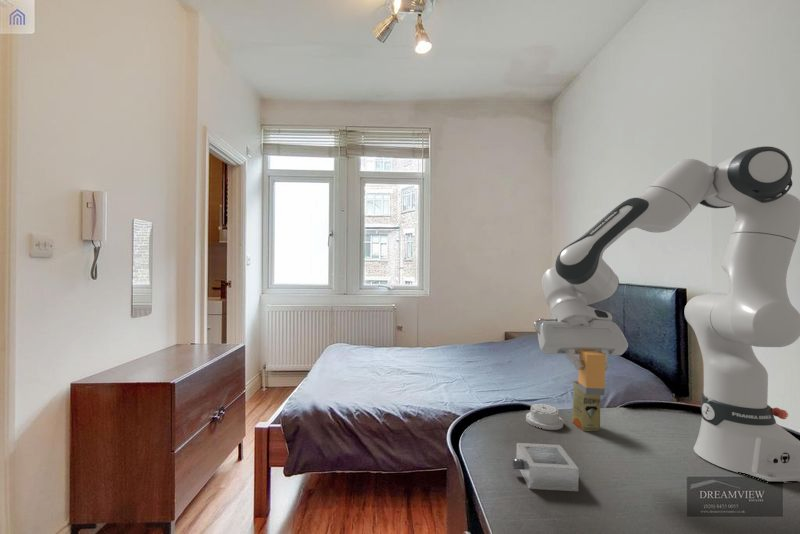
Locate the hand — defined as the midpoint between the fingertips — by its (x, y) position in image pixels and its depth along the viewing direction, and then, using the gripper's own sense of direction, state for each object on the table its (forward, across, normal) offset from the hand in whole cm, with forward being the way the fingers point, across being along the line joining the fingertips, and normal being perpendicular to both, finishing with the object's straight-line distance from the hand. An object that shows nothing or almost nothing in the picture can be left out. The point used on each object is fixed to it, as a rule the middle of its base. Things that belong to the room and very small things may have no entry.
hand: (593, 369), depth 82 cm
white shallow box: (+19, -13, +12) cm, 26 cm away
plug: (+3, 0, +4) cm, 5 cm away
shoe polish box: (+2, +10, +29) cm, 30 cm away
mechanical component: (0, -1, +31) cm, 31 cm away
